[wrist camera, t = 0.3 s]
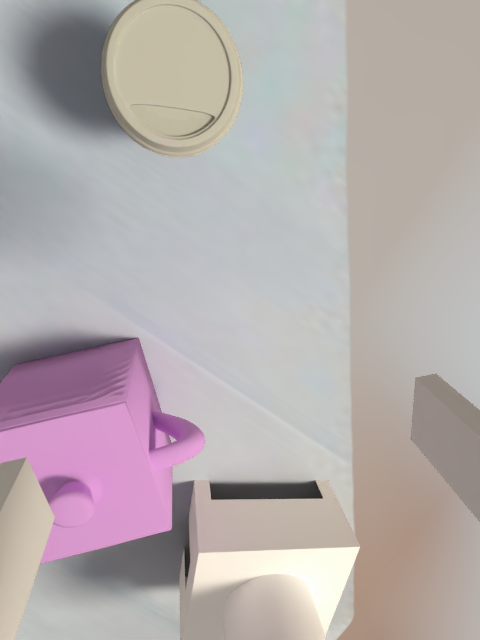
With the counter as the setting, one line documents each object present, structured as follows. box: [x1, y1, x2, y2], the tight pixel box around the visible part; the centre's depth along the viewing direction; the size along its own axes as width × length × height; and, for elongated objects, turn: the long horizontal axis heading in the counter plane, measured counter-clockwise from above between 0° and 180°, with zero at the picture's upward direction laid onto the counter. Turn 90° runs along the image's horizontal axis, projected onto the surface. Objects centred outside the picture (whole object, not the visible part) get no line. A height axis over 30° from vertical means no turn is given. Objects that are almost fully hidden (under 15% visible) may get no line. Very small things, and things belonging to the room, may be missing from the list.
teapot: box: [0, 338, 205, 564], centre depth 37 cm, size 15×25×14 cm, turn 99°
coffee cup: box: [101, 0, 243, 157], centre depth 27 cm, size 9×8×12 cm
